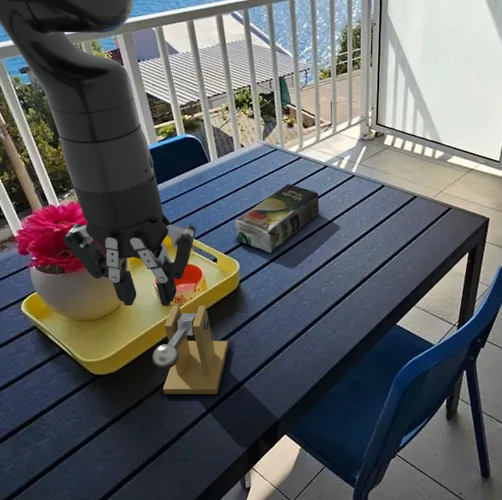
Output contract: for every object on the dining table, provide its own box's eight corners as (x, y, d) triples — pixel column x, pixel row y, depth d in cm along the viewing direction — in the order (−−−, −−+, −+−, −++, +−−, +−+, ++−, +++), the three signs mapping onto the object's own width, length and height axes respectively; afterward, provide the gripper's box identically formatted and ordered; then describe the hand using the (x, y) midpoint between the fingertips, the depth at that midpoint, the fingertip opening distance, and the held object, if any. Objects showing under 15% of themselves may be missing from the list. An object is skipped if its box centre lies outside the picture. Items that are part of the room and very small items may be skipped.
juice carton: (269, 256, 105) (266, 232, 101) (233, 243, 109) (229, 219, 105) (320, 214, 119) (320, 192, 116) (287, 204, 123) (285, 181, 120)
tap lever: (175, 373, 64) (173, 351, 63) (149, 373, 64) (147, 351, 63) (201, 330, 76) (200, 310, 76) (180, 329, 76) (178, 310, 75)
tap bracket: (216, 394, 77) (205, 340, 70) (164, 394, 76) (147, 340, 69) (228, 345, 85) (219, 293, 78) (181, 345, 84) (167, 292, 77)
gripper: (19, 188, 46) (75, 323, 56) (175, 190, 46) (202, 323, 56) (57, 153, 52) (101, 280, 62) (194, 155, 52) (216, 281, 63)
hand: (149, 300), depth 59 cm, fingers open, 3 cm apart
